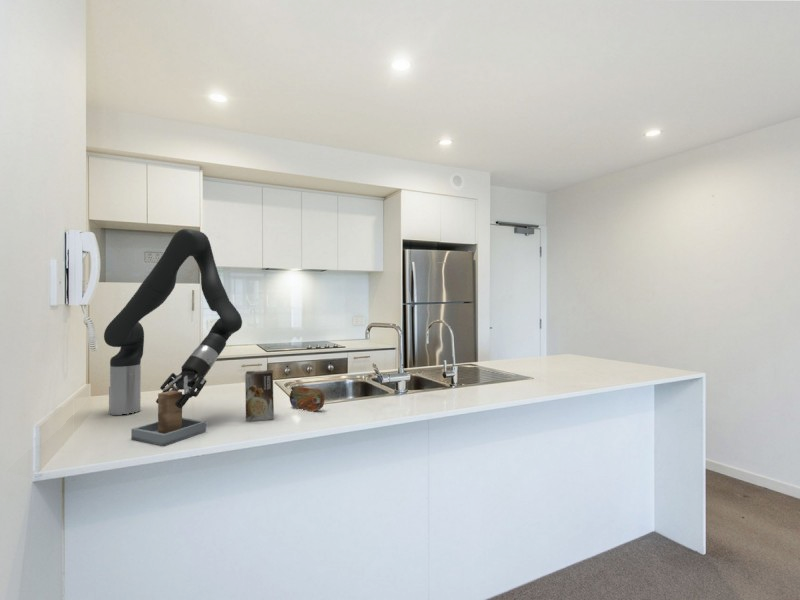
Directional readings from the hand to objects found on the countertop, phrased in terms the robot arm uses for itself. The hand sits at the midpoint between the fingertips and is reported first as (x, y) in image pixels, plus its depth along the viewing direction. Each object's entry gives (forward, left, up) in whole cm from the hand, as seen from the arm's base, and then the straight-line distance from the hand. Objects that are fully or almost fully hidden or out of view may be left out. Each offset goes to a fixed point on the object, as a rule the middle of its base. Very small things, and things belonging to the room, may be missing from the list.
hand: (168, 405), depth 123 cm
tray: (0, +1, -9) cm, 9 cm away
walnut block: (0, +1, -8) cm, 8 cm away
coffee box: (+12, +26, -9) cm, 30 cm away
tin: (+20, +42, -9) cm, 47 cm away
